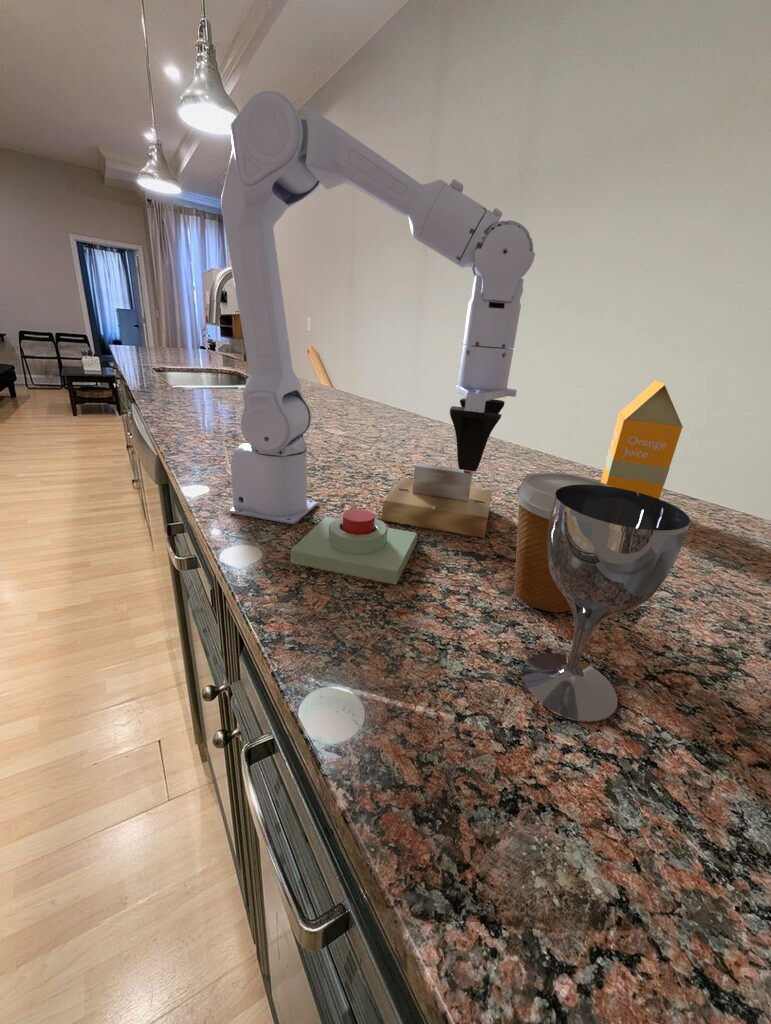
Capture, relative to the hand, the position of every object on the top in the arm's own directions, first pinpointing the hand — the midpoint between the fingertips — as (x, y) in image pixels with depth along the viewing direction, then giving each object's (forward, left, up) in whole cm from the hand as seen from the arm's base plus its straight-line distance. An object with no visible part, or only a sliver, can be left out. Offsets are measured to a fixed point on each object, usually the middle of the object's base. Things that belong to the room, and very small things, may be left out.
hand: (470, 461), depth 56 cm
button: (-11, -11, -6) cm, 17 cm away
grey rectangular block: (-4, +4, -7) cm, 9 cm away
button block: (-11, -11, -10) cm, 19 cm away
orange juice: (+24, +21, -10) cm, 33 cm away
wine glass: (+11, -25, -10) cm, 30 cm away
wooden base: (-4, +5, -10) cm, 11 cm away
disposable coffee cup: (+10, -12, -10) cm, 19 cm away
